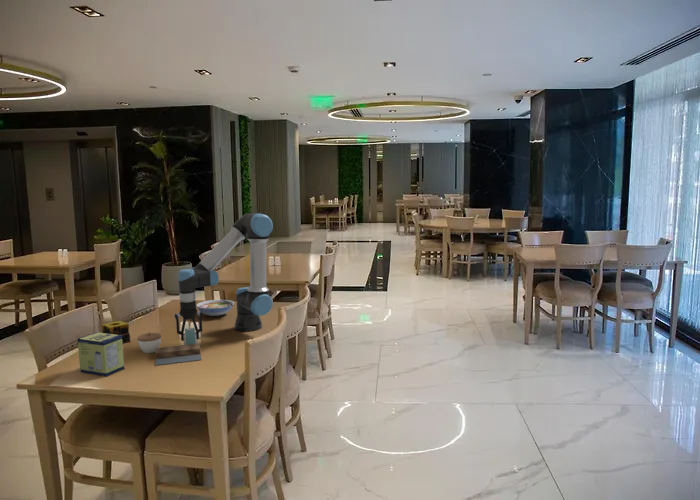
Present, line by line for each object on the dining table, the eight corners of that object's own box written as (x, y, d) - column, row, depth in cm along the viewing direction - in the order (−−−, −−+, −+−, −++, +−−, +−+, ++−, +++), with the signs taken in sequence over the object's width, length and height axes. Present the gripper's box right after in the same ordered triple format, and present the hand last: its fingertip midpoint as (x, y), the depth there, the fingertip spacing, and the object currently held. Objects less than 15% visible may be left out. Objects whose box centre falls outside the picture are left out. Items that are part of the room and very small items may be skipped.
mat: (200, 354, 251) (200, 354, 251) (201, 360, 243) (201, 359, 243) (156, 360, 245) (155, 359, 244) (155, 365, 237) (155, 364, 237)
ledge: (199, 349, 259) (199, 343, 259) (200, 354, 252) (200, 348, 251) (156, 354, 253) (156, 348, 253) (156, 359, 245) (155, 353, 245)
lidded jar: (166, 348, 261) (165, 330, 260) (151, 355, 251) (150, 336, 250) (148, 347, 264) (147, 328, 263) (133, 353, 254) (132, 334, 253)
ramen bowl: (193, 313, 332) (193, 300, 331) (230, 308, 341) (229, 296, 340) (200, 322, 309) (199, 308, 308) (239, 317, 319) (238, 304, 318)
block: (195, 345, 267) (194, 327, 265) (195, 347, 262) (194, 329, 261) (185, 346, 265) (184, 328, 264) (186, 348, 261) (185, 330, 260)
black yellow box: (130, 342, 273) (129, 323, 272) (111, 346, 266) (109, 327, 265) (122, 338, 280) (120, 320, 279) (102, 343, 273) (101, 324, 272)
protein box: (98, 364, 240) (95, 331, 238) (125, 368, 234) (122, 334, 232) (79, 372, 230) (76, 338, 228) (106, 377, 224) (103, 341, 222)
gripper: (205, 297, 267) (208, 342, 270) (168, 300, 261) (171, 346, 264) (206, 300, 260) (209, 346, 263) (168, 304, 254) (171, 350, 257)
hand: (190, 346), depth 264 cm, fingers open, 5 cm apart
